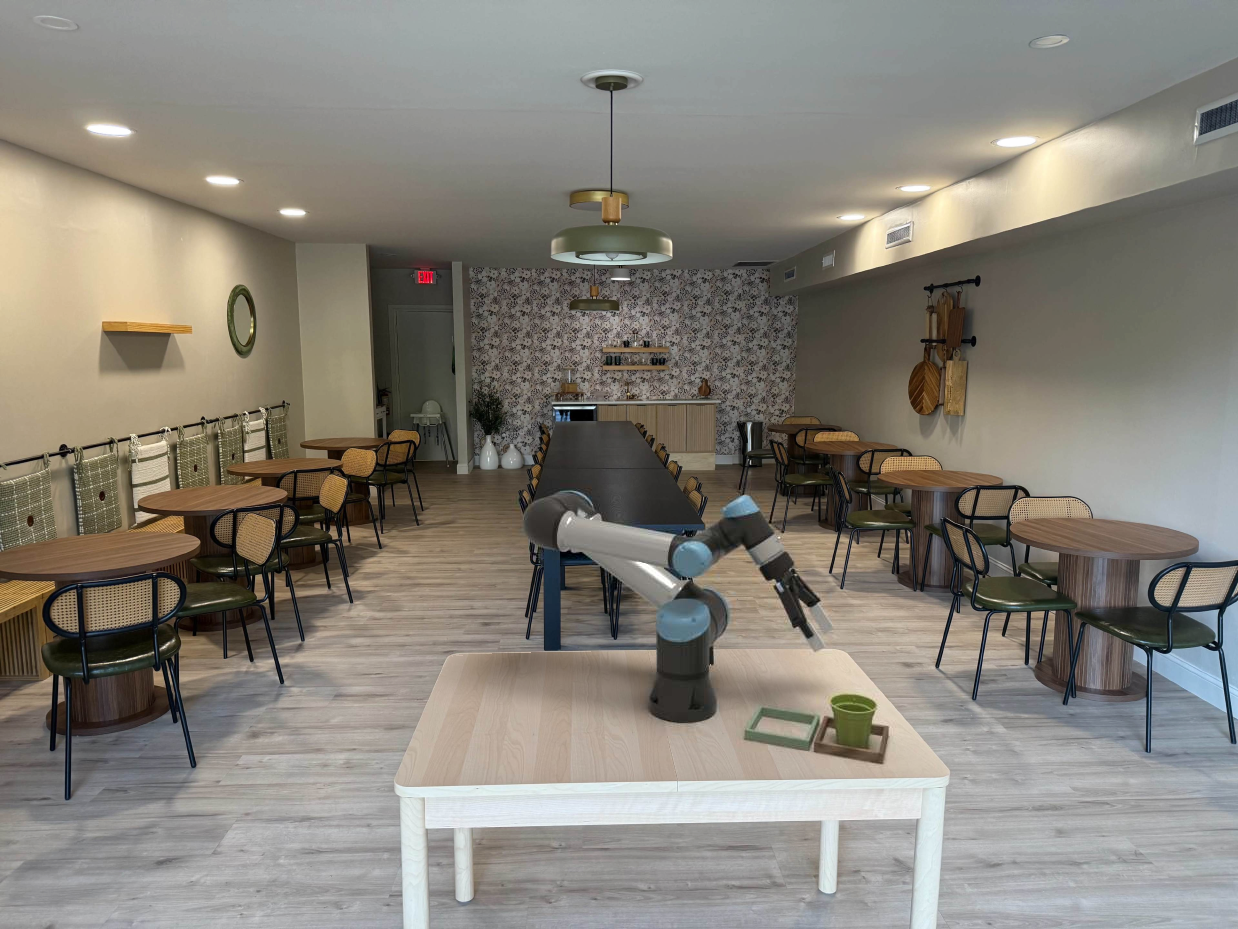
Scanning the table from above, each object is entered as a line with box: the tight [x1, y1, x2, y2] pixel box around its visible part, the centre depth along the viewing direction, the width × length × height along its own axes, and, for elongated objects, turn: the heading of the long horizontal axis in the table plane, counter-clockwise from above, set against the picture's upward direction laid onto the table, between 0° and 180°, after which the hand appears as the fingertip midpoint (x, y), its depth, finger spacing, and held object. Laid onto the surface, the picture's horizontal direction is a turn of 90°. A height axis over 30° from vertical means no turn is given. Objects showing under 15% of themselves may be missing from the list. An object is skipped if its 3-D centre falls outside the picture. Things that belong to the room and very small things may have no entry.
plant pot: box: [828, 693, 879, 749], centre depth 162 cm, size 9×9×9 cm
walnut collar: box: [813, 715, 890, 765], centre depth 163 cm, size 13×13×2 cm
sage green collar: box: [743, 705, 821, 751], centre depth 168 cm, size 13×13×2 cm
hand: (825, 639), depth 179 cm, fingers open, 13 cm apart
